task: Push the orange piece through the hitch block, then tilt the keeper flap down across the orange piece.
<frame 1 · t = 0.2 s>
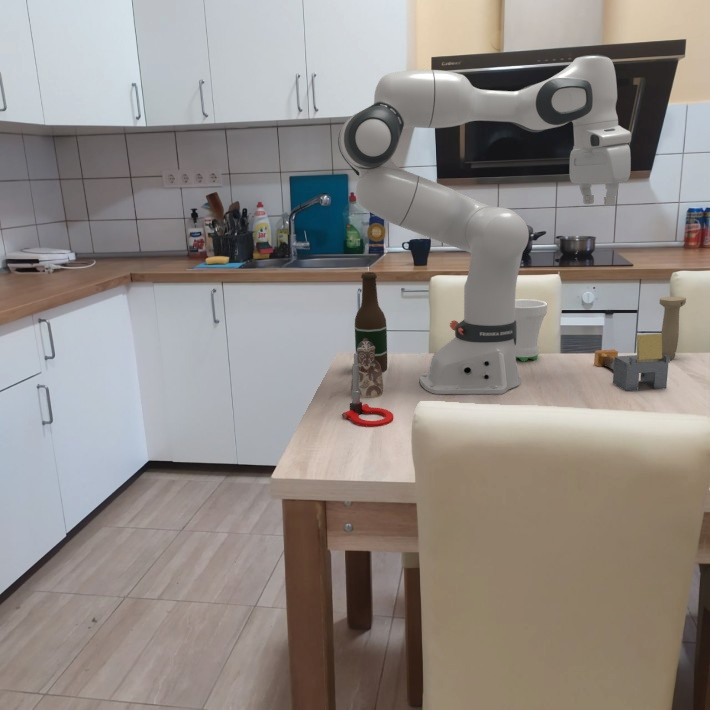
hand: (598, 204, 145), 38 cm above the table, tool pointing down, fingers open, 8 cm apart
orange piece: (615, 363, 157), point 2 cm above the table, slide at 0.0 cm
keeper flap: (649, 348, 141), point 9 cm above the table, hinge at 100.0°
beer bottle: (371, 370, 165), on the table
figurine: (367, 394, 148), on the table
tow hook: (370, 420, 132), on the table
cup: (522, 358, 171), on the table
hitch block: (639, 385, 146), on the table
handle: (667, 359, 166), on the table
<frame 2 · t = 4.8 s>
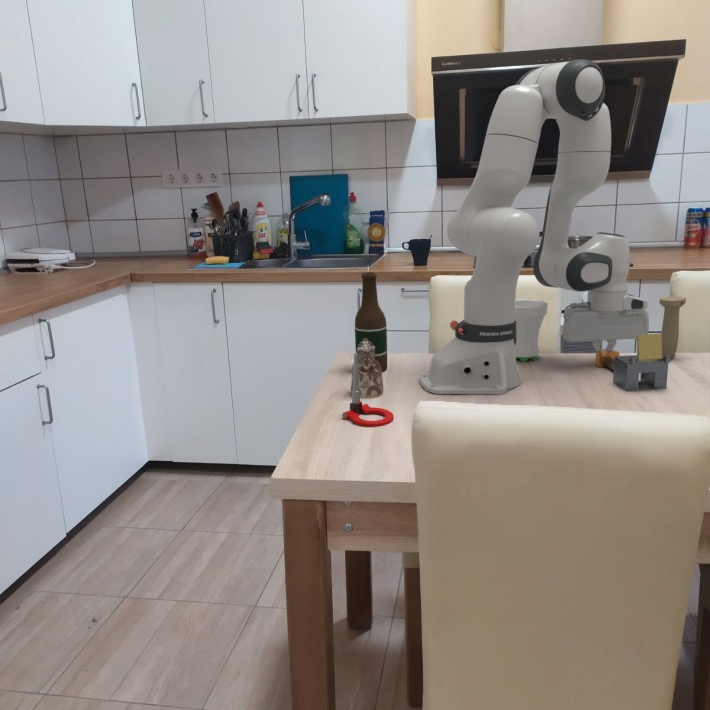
hand: (603, 357, 163), 2 cm above the table, tool pointing down, fingers closed
orange piece: (616, 364, 156), point 2 cm above the table, slide at 0.7 cm, touching gripper
everything else where it was.
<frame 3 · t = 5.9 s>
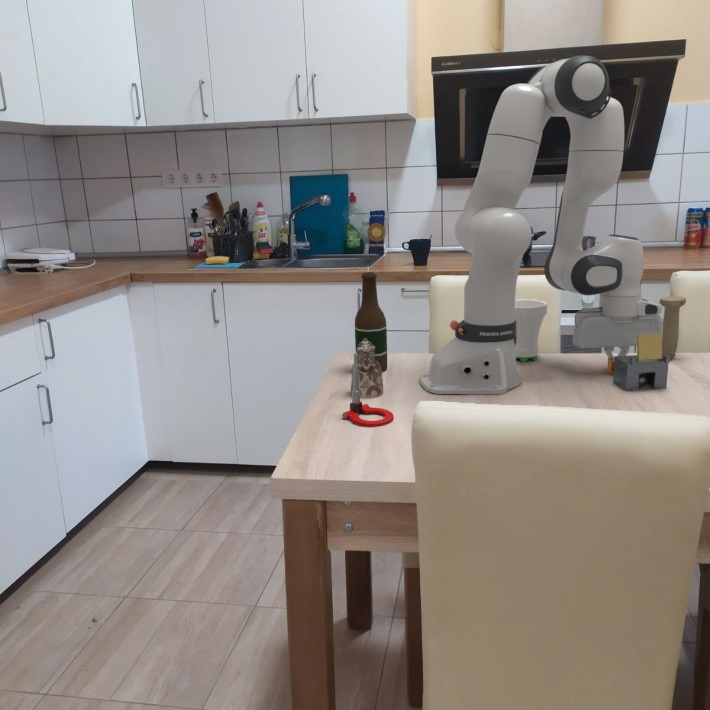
hand: (615, 364, 157), 2 cm above the table, tool pointing down, fingers closed
orange piece: (629, 371, 150), point 2 cm above the table, slide at 7.0 cm, touching gripper
everything else where it was.
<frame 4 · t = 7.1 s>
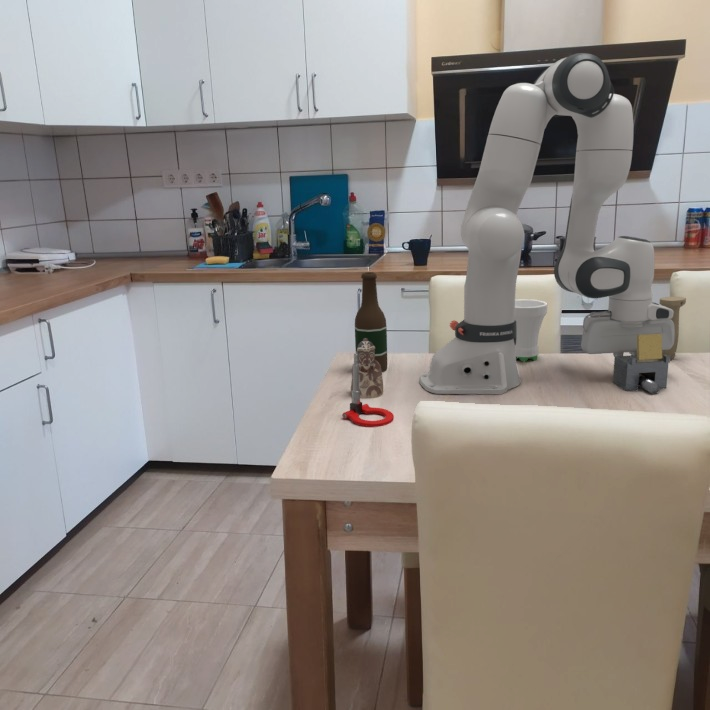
hand: (625, 370, 152), 2 cm above the table, tool pointing down, fingers closed, pressing on orange piece
orange piece: (640, 377, 146), point 2 cm above the table, slide at 11.8 cm, touching gripper
everything else where it was.
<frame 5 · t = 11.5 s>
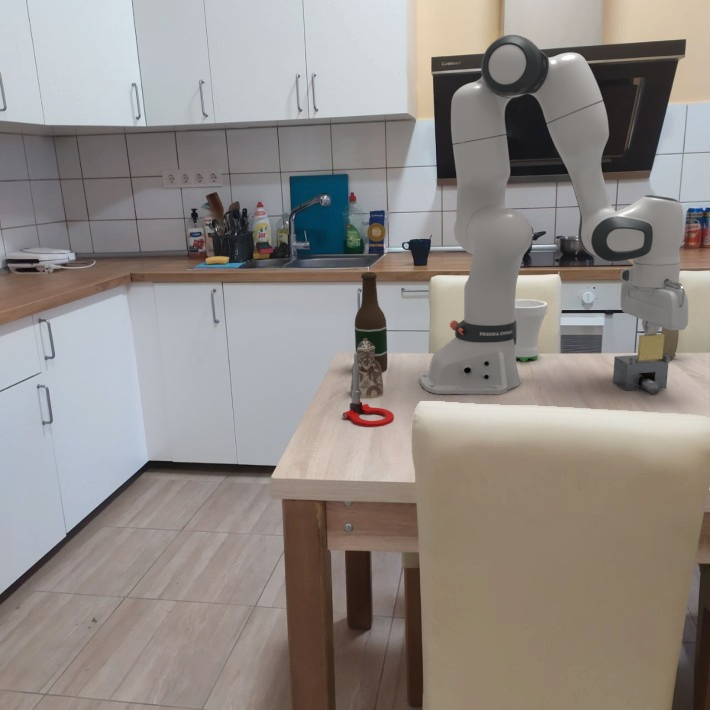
hand: (650, 342, 141), 10 cm above the table, tool pointing down, fingers closed, pressing on keeper flap
orange piece: (640, 378, 145), point 2 cm above the table, slide at 12.0 cm
keeper flap: (650, 348, 141), point 9 cm above the table, hinge at 88.8°, touching gripper
everything else where it was.
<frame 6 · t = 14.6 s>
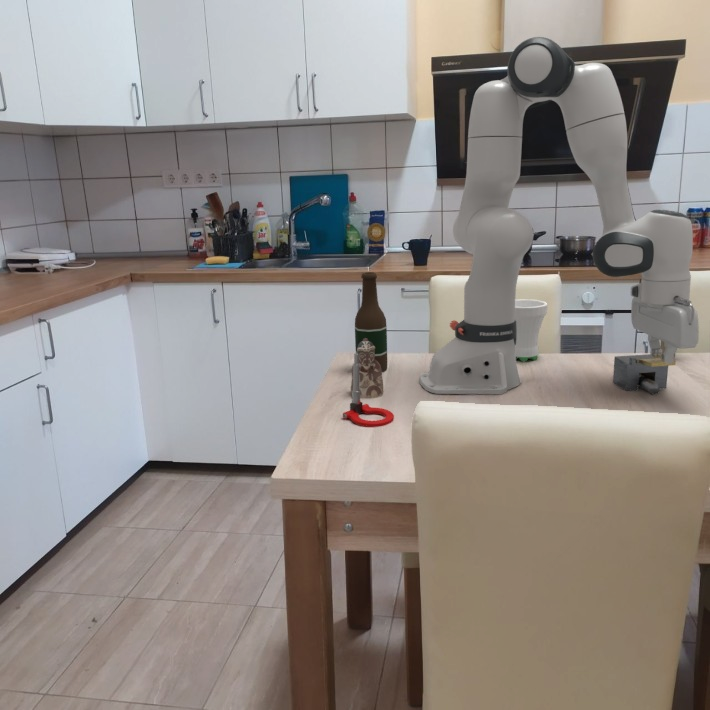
hand: (661, 359, 137), 8 cm above the table, tool pointing down, fingers open, 3 cm apart
keeper flap: (655, 362, 139), point 7 cm above the table, hinge at 7.7°, touching gripper
everything else where it was.
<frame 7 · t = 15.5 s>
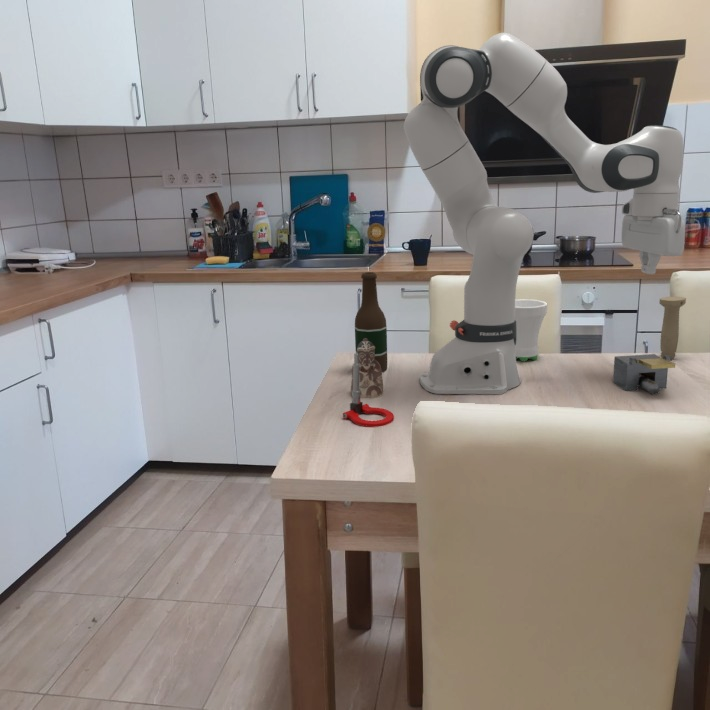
hand: (648, 273, 144), 24 cm above the table, tool pointing down, fingers closed
keeper flap: (655, 363, 139), point 7 cm above the table, hinge at 2.5°
everything else where it was.
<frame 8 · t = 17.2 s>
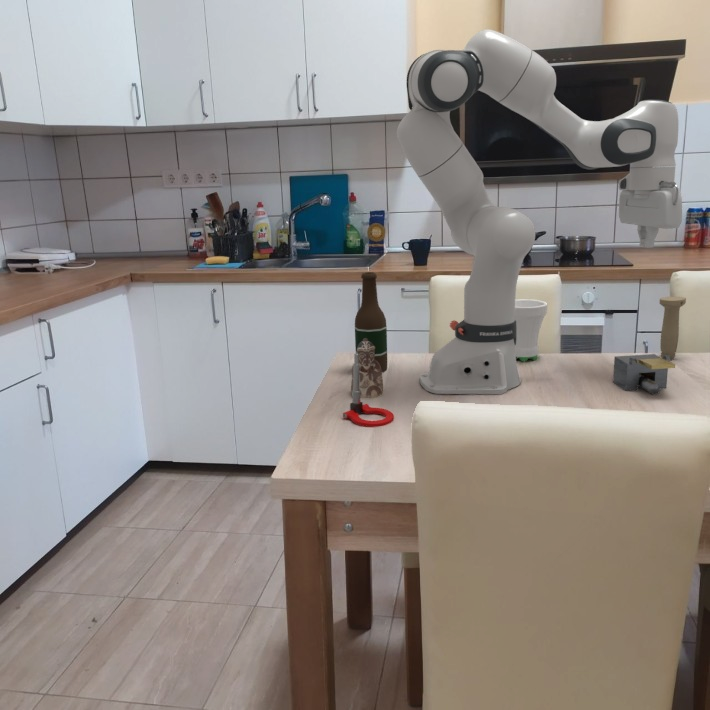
hand: (646, 247, 146), 29 cm above the table, tool pointing down, fingers closed
keeper flap: (655, 363, 139), point 7 cm above the table, hinge at 1.9°
everything else where it was.
at the end: orange piece slide at 12.0 cm; keeper flap at +2° (first picture: +100°) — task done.
